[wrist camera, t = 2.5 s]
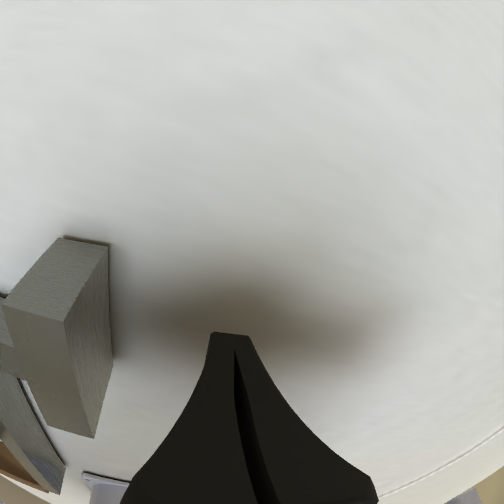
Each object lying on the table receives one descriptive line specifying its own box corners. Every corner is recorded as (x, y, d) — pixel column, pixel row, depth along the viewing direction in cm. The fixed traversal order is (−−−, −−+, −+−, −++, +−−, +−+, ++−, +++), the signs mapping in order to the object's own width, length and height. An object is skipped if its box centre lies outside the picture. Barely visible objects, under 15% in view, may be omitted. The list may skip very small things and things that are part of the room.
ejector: (135, 484, 20) (131, 523, 16) (51, 463, 18) (42, 498, 15) (108, 246, 10) (63, 321, 6) (-47, 217, 8) (-105, 263, 5)
